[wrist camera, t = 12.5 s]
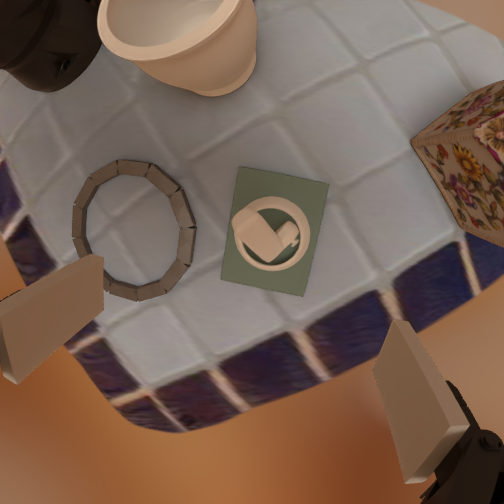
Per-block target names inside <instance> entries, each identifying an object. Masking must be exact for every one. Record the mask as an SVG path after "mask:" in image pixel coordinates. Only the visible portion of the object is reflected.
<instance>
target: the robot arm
mask: <svg viewBox="0 0 504 504" xmlns="http://www.w3.org/2000/svg"><path fill="white" fill-rule="evenodd" d="M100 4H101V0H0V69H3V70H6V71H7V72H9V73H10V74H11V75H12V76H14V77H15V78H16V79H17V80H18V81H20V82H21V83H22V84H23V85H25V86H26V87H28V88H30V89H33V90H37V91H42V92H52V91H56V90H59V89H61V88H63V87H65V86H66V85H68V84H69V83H71V82H72V81H73V80H74V79H76V78H77V77H78V76H79V75H80V74H81V73H82V72H83V71H84V70H85V68H86V67H87V66H88V65H89V63H90V62H91V61H92V59H93V58H94V56H95V54H96V53H97V51H98V49H99V47H100V45H101V43H102V40H101V38H100V36H99V32H98V27H97V17H98V11H99V7H100ZM103 263H104V257H101V256H97V255H93V254H89V255H87V256H85V257H83V258H81V259H79V260H77V261H75V262H73V263H71V264H69V265H67V266H65V267H63V268H61V269H60V270H58V271H56V272H54V273H52V274H50V275H48V276H46V277H44V278H42V279H41V280H39V281H37V282H35V283H33V284H31V285H29V286H28V287H26V288H24V289H22V290H18V291H16V292H15V293H13V294H11V295H10V296H7V297H6V298H4V299H3V300H0V366H1V369H2V372H3V375H4V377H6V378H7V379H9V380H10V381H12V382H13V383H15V384H16V385H18V384H19V383H20V382H21V381H22V380H23V379H24V378H26V377H27V375H29V374H30V373H31V372H32V371H33V370H34V369H36V368H37V367H38V366H39V365H40V364H41V363H42V362H43V361H45V360H46V359H47V358H48V357H49V356H50V355H51V354H53V353H54V352H55V351H56V350H57V349H58V348H59V347H60V346H62V345H63V344H64V343H65V342H66V341H68V340H69V339H70V338H71V337H72V336H73V335H75V334H76V333H77V332H78V331H79V330H81V329H82V328H83V327H84V326H85V325H86V324H88V323H89V322H90V321H91V320H92V319H94V318H95V317H96V316H97V315H98V314H100V313H101V312H102V311H103V310H104V297H103ZM373 373H374V377H375V380H376V383H377V386H378V389H379V392H380V396H381V399H382V402H383V405H384V408H385V412H386V415H387V419H388V422H389V425H390V429H391V432H392V436H393V439H394V443H395V447H396V450H397V454H398V458H399V461H400V465H401V469H402V473H403V477H404V481H405V483H419V482H425V480H427V478H428V477H429V476H430V475H431V474H432V473H433V472H435V475H436V478H437V480H436V481H435V482H434V483H433V484H432V485H431V486H430V487H429V488H428V489H427V490H426V491H425V492H424V493H423V494H422V495H421V496H420V498H421V499H422V498H423V497H424V496H425V497H424V499H423V500H422V502H421V504H504V444H503V442H502V440H501V439H500V438H499V436H498V435H496V434H495V433H493V432H492V431H489V430H481V429H480V427H479V425H478V423H477V422H476V420H475V418H474V416H473V414H472V413H471V411H470V409H469V408H468V407H467V404H466V402H465V401H464V400H463V397H462V396H461V394H460V392H459V391H458V389H457V388H456V387H455V386H454V385H453V384H452V383H451V382H450V381H445V380H444V378H443V376H442V375H441V373H440V371H439V370H438V368H437V366H436V365H435V363H434V361H433V360H432V358H431V356H430V355H429V353H428V352H427V350H426V348H425V347H424V345H423V344H422V342H421V341H420V339H419V337H418V336H417V334H416V333H415V331H414V330H413V328H412V327H411V325H410V324H409V322H408V321H403V320H397V319H393V320H392V323H391V326H390V328H389V331H388V334H387V336H386V339H385V341H384V344H383V346H382V349H381V351H380V353H379V356H378V358H377V360H376V363H375V365H374V367H373Z"/></svg>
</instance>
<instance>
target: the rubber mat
mask: <svg viewBox="0 0 504 504" xmlns="http://www.w3.org/2000/svg"><path fill="white" fill-rule="evenodd" d="M328 187H329V184H326V183H321V182H317V181H312V180H307V179H303V178H298V177H293V176H288V175H283V174H278V173H272V172H267V171H262V170H256V169H251V168H245V167H239V171H238V176H237V182H236V188H235V193H234V199H233V205H232V211H231V217H230V223H229V229H228V235H227V241H226V247H225V254H224V260H223V266H222V273H221V280H225V281H230V282H234V283H239V284H243V285H248V286H253V287H257V288H262V289H267V290H271V291H276V292H281V293H286V294H291V295H296V296H301V297H303V296H304V292H305V288H306V284H307V280H308V276H309V272H310V268H311V264H312V259H313V255H314V251H315V247H316V242H317V238H318V234H319V229H320V225H321V220H322V215H323V211H324V206H325V201H326V197H327V192H328ZM269 196H275V197H281V198H284V199H287V200H289V201H291V202H293V203H294V204H295V205H297V206H298V207H299V208H300V209H301V210H302V212H303V213H304V214H305V216H306V218H307V220H308V223H309V227H310V242H309V245H308V248H307V250H306V252H305V254H304V255H303V257H302V258H301V259H300V260H299V261H298V262H297V263H295V264H294V265H293V266H291V267H289V268H287V269H283V270H280V271H266V270H262V269H259V268H257V267H255V266H253V265H251V264H250V263H249V262H247V261H246V260H245V259H244V258H243V256H242V255H241V254H240V252H239V250H238V248H237V246H236V243H235V237H234V230H233V227H232V219H233V217H234V216H235V215H236V214H237V213H238V212H239V211H240V210H242V209H244V208H245V207H246V206H247V205H248V204H249V203H251V202H253V201H254V200H256V199H259V198H262V197H269ZM257 213H259V214H260V215H261V216H262V217H263V218H264V220H265V221H266V222H267V223H268V225H269V226H270V227H271V228H272V230H273V231H274V232H276V231H277V230H278V229H279V228H280V227H281V226H282V225H283V224H284V223H285V222H287V221H290V222H292V223H294V224H295V225H296V226H297V228H298V230H299V227H298V225H297V223H296V221H295V220H294V219H293V218H292V217H291V216H290V215H289V214H288V213H286V212H284V211H282V210H279V209H274V208H267V209H262V210H259V211H257ZM296 239H299V242H298V243H297V244H296V245H295V246H294V247H291V244H292V243H290V244H289V245H288V246H287V247H286V248H285V249H284V250H283V251H282V252H281V253H280V254H279V255H278V256H277V257H276V258H275V259H273V260H272V261H271V262H266V261H264V260H262V259H261V258H260V257H259V256H258V255H257V254H256V253H255V252H253V251H252V250H251V249H250V248H249V247H248V246H247V245H246V244H245V243H244V242H243V246H244V248H245V250H246V252H247V253H248V254H249V255H250V257H252V258H253V259H254V260H255V261H257V262H259V263H262V264H265V265H279V264H282V263H285V262H287V261H288V260H289V259H291V258H292V257H293V256H294V254H295V253H296V251H297V250H298V247H299V244H300V231H299V233H298V235H297V237H296V238H295V240H296Z"/></svg>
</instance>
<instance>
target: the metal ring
mask: <svg viewBox="0 0 504 504" xmlns="http://www.w3.org/2000/svg"><path fill="white" fill-rule="evenodd" d="M120 174H126V175H134V176H141V177H146V178H147V179H148V180H149V181H150V182H151V183H153V184H154V185H155V186H156V187H157V188H158V189H159V190H161V191H162V192H163V193H164V194H165V195H166V196H167V197H169V200H170V203H171V206H172V208H173V211H174V214H175V216H176V219H177V222H178V224H179V227H180V233H179V242H178V250H177V259H176V261H175V262H174V264H173V265H172V266H171V268H170V269H169V270H168V272H167V273H166V274H165V276H164V277H163V278H162V279H161V280H159V281H156V282H153V283H149V284H146V285H143V286H140V287H138V286H134V285H131V284H127V283H124V282H120V281H116V280H114V279H113V278H112V277H111V276H110V275H109V274H108V273H107V272H106V271H105V270H104V269H103V289H104V290H105V291H106V292H108V291H109V294H113V295H116V296H119V297H123V298H126V299H129V300H133V301H136V302H137V301H138V300H139V302H140V301H143V300H147V299H150V298H153V297H157V296H160V295H163V294H166V293H167V292H169V291H170V290H171V289H172V288H173V287H174V285H175V284H176V283H177V282H178V280H179V279H180V278H181V277H182V275H183V274H184V273H185V272H186V270H187V269H188V268H189V267H190V264H191V263H192V259H193V251H194V243H195V236H196V229H197V227H192V226H194V225H195V224H196V222H195V219H194V217H193V214H192V211H191V209H190V206H189V203H188V201H187V198H186V195H185V192H184V190H180V188H181V186H180V185H179V184H178V183H176V182H175V181H174V180H173V179H172V178H171V177H169V176H168V175H167V174H166V173H165V172H164V171H162V170H161V169H160V168H159V167H158V166H157V165H153V163H145V162H137V161H128V160H116V161H114V162H112V163H110V164H108V165H106V166H105V167H103V168H101V169H99V170H98V171H96V172H94V173H92V174H91V177H88V178H87V180H86V182H85V184H84V185H83V187H82V189H81V191H80V193H79V195H78V196H77V198H76V200H75V202H74V203H75V204H76V205H74V206H73V221H72V237H75V239H73V242H74V245H75V248H76V250H77V253H78V255H79V258H80V259H81V258H83V257H85V256H87V255H89V254H92V251H91V249H90V246H89V244H88V241H87V238H86V236H85V235H86V214H87V207H88V205H89V203H90V202H91V200H92V198H93V196H94V195H95V193H96V191H97V189H98V188H99V186H100V185H101V184H103V183H105V182H107V181H109V180H111V179H112V178H114V177H116V176H118V175H120ZM179 190H180V191H179Z"/></svg>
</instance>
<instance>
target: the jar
mask: <svg viewBox="0 0 504 504" xmlns="http://www.w3.org/2000/svg"><path fill="white" fill-rule="evenodd" d="M97 27H98V32H99V36H100V38H101V40H102V42H103V43H104V45H105V46H106V47H107V48H108V49H109V50H110V51H111V52H113V53H114V54H116V55H118V56H120V57H122V58H124V59H126V60H129V61H133V62H134V63H135V64H136V65H137V66H138V67H139V68H141V69H142V70H143V71H144V72H146V73H147V74H149V75H150V76H152V77H153V78H155V79H157V80H159V81H161V82H163V83H166V84H169V85H172V86H176V87H180V88H183V89H187V90H191V91H193V92H195V93H197V94H200V95H203V96H221V95H225V94H228V93H231V92H233V91H234V90H236V89H238V88H239V87H241V86H242V85H243V84H244V83H245V82H246V81H247V80H248V78H249V77H250V76H251V74H252V72H253V70H254V67H255V63H256V51H255V48H256V38H257V17H256V11H255V7H254V4H253V1H252V0H102V1H101V4H100V7H99V11H98V17H97Z"/></svg>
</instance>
